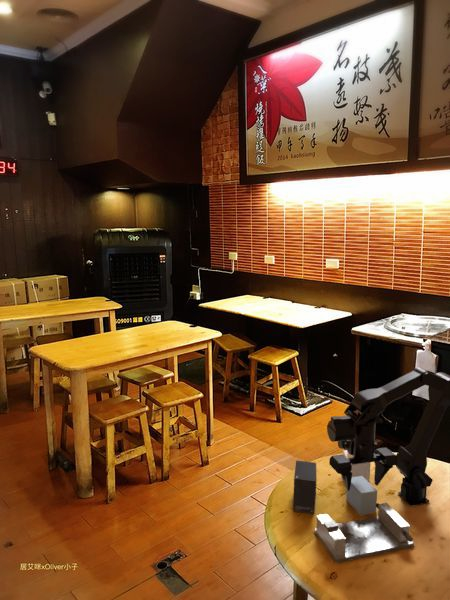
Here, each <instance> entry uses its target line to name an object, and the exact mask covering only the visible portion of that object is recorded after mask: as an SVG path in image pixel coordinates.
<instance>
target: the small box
mask: <svg viewBox="0 0 450 600" xmlns="http://www.w3.org/2000/svg"><path fill="white" fill-rule="evenodd" d="M316 499H317V462H315V461H314V462H311V461H305V460H304V461H303V460H295V467H294V475H293V499H292V500H293V501H292V511H293V512H299V513H305V514H315V509H316V508H315V507H316Z"/></svg>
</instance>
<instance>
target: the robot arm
mask: <svg viewBox="0 0 450 600" xmlns="http://www.w3.org/2000/svg"><path fill="white" fill-rule="evenodd" d="M424 386H428V389H427V391H428V401H427V404H426V406H425V408H424V411H423V413H422V415H421V418H420V419H419V422H418V424H417V427H416V428H415V431H414V433H413V435H412V438H411V440H410V442H409V443H408V444H407V445H405V447H403V446H402V445H401V446H399V447H398V449H397V450H398V451H397V452H396V454H395V453H394V452H393V451H392V450H390V449H389V448H388V447H379V448H378V442H376V424H383V423H384V420H383V419H382V418H381V417H380V416H379V415H380V414H382V413H383V412H385V409H386V408H387V407H388V405H389V404H392V402H394V401H396V400H399V399H401V398H403V397H404V396H406V395H408V394H410V393H412V392H415V391H416V390H418V389H420V388H422V387H424ZM448 407H450V375H449V374H447V373H445V372H441V371H440V372H437V373H436V372H433V371H431V370H427V369H424V368H423V367H416V368H413V370H412V371H410V372H408V373H406V374H404V375H402V376H400V377H398V378H397V379H395V380H392V381H391V382H389V383H386V384H385V385H383V386H380V387H378V388H369V389H368V388H367V389H365V390H361V391H359V392H356V393H355V394H354V395H353V398H352V400H351V402H350V403H349V404H348V406H347V407H346V408H345V410H344V411H343V414H344V415H341V416H337V415H335V416H331V417H330V420H329V421H328V423H327V425H326V432H327V435H328V439H329V440H330V441H331V442H332V443H334V442H335V443H336V442H337V446H338V448H339V449H341V450H343V451H344V450H348V451H349V454H350V455H353V458H348V459H347V458H346V457H345V456H344V455H343V453H341V454H334V455H331V456H330V457H329V466H331V468H332V469H333V470H334V471H335V472H336V473H337V474H340V475H341V478H342V481H343V483H344V486H345V488H346V491H347V490H348V491H349V490H350V486H351V479H352V473H351V472H350V471H351V470H352V466H353V465H359V464H365V463H369V462H370V463H374V485H375V486H376V487H378V486H379V485H380V484H381V482H382V480H383V478H384V477H385V475H387V473H388V472H389V471H390V469H393V468H394V466H395V468H396V469H397V470H398V472H399V473H400V474H401V475H403V476H404V477H402V480H401V481H402V483H401V484H400V491H398V493H397V495H398V496H400V497H401V498H402V499H403V500H404V501H405V502H406V503H407V504H408V505H409V506H411V507H413V506H418V505H424V504H429V503H430V500H429V499H428V498H427V490H428V489H427V488H428V487H431V485H432V483H433V481H434V480H433V478H431V477H430V476H429V475H428V474H427V473H426V470H427V467H428V458H427V452H428V449H429V448H430V445H431V443H432V441H433V438H434V436H435V434H436V431H437V429H438V427H439V425H440V422H441V421H442V419H443V416H444V414H445V412H446V409H447V408H448ZM356 411H357V413H359V414H360V415H358V414H357V413H356ZM375 448H376V449H375Z"/></svg>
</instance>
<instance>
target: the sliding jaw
mask: <svg viewBox="0 0 450 600" xmlns="http://www.w3.org/2000/svg"><path fill="white" fill-rule="evenodd" d="M376 509H378V510H377V511H378V512H377V513H378V514H377V517H378V519H379V520H380V521H381V523H382V524H383V525H384V526H385V527H386V528H387V529H388V530H389V531H390V532H391V533H392V534H393V535H394V537H395V538H396V539H397V540H398V541H399V542H405V541H409V542H411V541H413V540H414V538H413V537H412V536H411V535H410V527H411V526H410V524H409V523H408V522H407V521H406V520H405V519H404V518H403V517H402V516H401V515H400V514H399V513H398V512H397V511H396V510H395V509H394V508H393V507H392V506H391V505H390V504H389V503H388V502H384V503H379V502H378V503H377V504H376Z"/></svg>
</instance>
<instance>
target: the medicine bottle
mask: <svg viewBox="0 0 450 600" xmlns="http://www.w3.org/2000/svg"><path fill="white" fill-rule="evenodd" d="M342 454H343V455H344V456H345V457H346V458H347V459H348V458H353V455H350V454H349V451H348V450H344V449H343V450H342ZM350 472H351V473H352V477H358V476H363V477H364V478H365V479H366V480H367V481H368V482H369V481H370V479H371V478H370V476H371V462H369V463H365V464H359V465H353V466H352V470H351V471H350Z"/></svg>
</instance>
